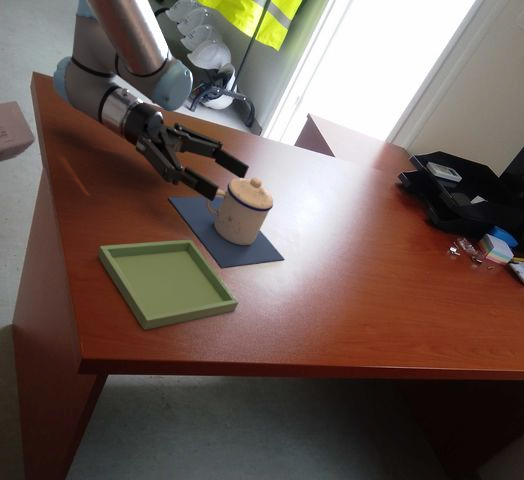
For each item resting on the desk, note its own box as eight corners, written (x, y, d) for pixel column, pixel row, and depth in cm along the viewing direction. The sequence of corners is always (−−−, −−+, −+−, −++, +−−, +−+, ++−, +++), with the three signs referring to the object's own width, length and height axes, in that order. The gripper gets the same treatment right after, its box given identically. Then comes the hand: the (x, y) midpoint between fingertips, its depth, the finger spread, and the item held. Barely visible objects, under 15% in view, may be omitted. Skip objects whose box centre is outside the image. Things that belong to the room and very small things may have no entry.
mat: (167, 198, 88) (168, 197, 88) (231, 198, 99) (231, 197, 99) (221, 268, 81) (221, 267, 81) (284, 260, 91) (284, 259, 91)
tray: (97, 256, 70) (99, 245, 69) (187, 248, 81) (191, 239, 79) (144, 330, 64) (147, 320, 63) (234, 310, 75) (239, 302, 74)
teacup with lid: (253, 226, 94) (277, 176, 87) (256, 252, 88) (282, 201, 81) (198, 207, 90) (217, 153, 83) (197, 233, 84) (218, 178, 77)
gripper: (94, 112, 72) (207, 184, 72) (174, 91, 91) (264, 148, 91) (87, 155, 77) (193, 223, 77) (164, 127, 96) (249, 181, 96)
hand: (231, 183), depth 84 cm, fingers open, 13 cm apart
